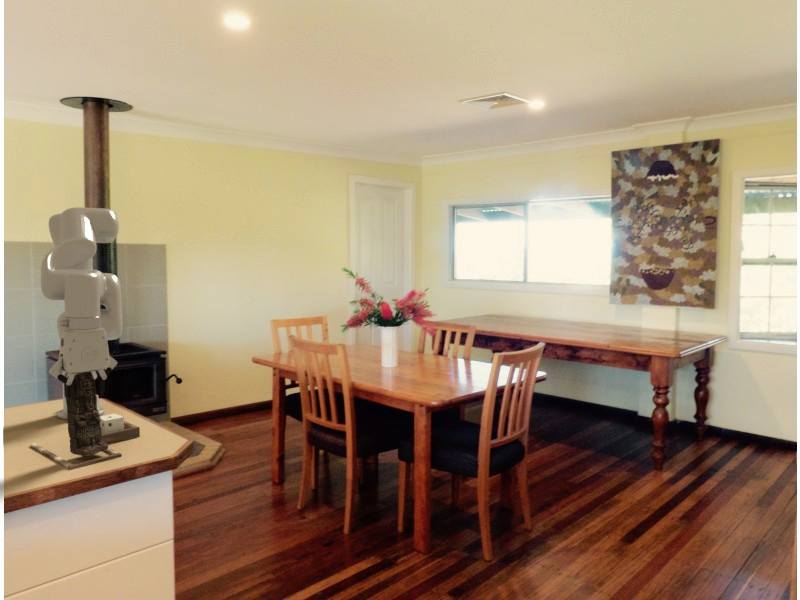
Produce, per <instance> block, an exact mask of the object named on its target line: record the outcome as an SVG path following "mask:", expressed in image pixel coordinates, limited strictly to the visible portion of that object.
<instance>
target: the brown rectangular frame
mask: <svg viewBox="0 0 800 600" xmlns="http://www.w3.org/2000/svg"><path fill="white" fill-rule="evenodd" d="M29 444H30V447H32V448H33V449H35V450H37V451H38V452H40V453H41V454H44V455H45V456H47V457H49V458H50V459H52V460H54V461H55V462H57V463H59V464H60V465H62V466H64V467H65V468H67V469H69V470H73V469H77V468H81V467H85V466H91V465H93V464H97V463H101V462H105V461H109V460H112V459H116V458H120V457H122V456H123V455H122V453H121V452H119V451H116V450H114V449H113V448H110V447H109V446H108V449H106V450H104V452H107V453H108V454H110V455H106V456H101V457H98V458H95V459H91V460H86V461H83V462H78V463H74V464H73V463H72V462H69V461H67V460H66V459H64V458H62V457H60V456H59V455H57V454H56V453H53V452H51V451H50V450H49V449H47V448H45V447H43V446H41V445H39V444H38V443H36V442H31V443H29Z"/></svg>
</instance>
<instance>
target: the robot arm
mask: <svg viewBox="0 0 800 600" xmlns="http://www.w3.org/2000/svg"><path fill="white" fill-rule="evenodd" d="M118 219H119V218H118V216H117V214H116V213H115V211H113V210H112V209H110V208H102V207H79V206H78V207H69V208H67V209H65V210H63V211H62V212H61V213H56V214H53V215H52V216H50V218H49V220H48V230H49V234H50V238H51V240H52V243H53V245H54V247H53V248H52V249H50V251H48V253H47V254H45V256H44V257H43V259H42V262H41V265H40V266H41V267H40V288H41V293H42V295H43V296H44V298H46V299H48V300H50V301H64V312H62V313H61V314H60V315H58V317H57V321H56V326H57V327H56V328H57V332H58V333H57V334H58V337H59V343H60V344H59V353H58V354H59V357H58V358H59V359H58V360H57V361H56V362H55V363H54V364H53V365H52V366H51V367H50V369H48V373H49V374H51V376H53V377H54V378H56V379H57V380H58V381H60V382H61V383H62V405H63V406H62V409H60V410H58V412H57V417H58V419H59V418H60V419H63V420H67V403H66V399H67V400H69V401H71V402H72V401H75V389H74V385H73V384H72V381H73V379H74V376H75V375H76V374H78V373H83V372H91V373H92V375H93V377H94V380H95V384H96V392H97V393H96V396H97V403H96V404H97V410H98V411H99V412H100V413H99V416H102V414H104V413H105V407H104V406H102V405H100V404H99V400H100V399H99V397H104V394H105V391H106V380H107V378H108V376H109V375H110V374H111V373H112V370H113V369H115V367H116V366H117V365H118V361H117V360H116V359H115V358H113V357H112V356H111V355H110V352H109V351H110V350H109V349H110V348H109V344H108V343H109V342H108V341H113V340H117V339H119V338H120V337H121V336H122V333H123V327H124V326H123V305H122V304H123V303H122V289H121V287H122V286H121V282H120V279H119V277H118V276H117V275H115V274H114V273H111V272H110V273H109V272H108V273H107V272H102V271H100V270H98V269H93V267H94V265H93V263H94V262H93V261H94V260H93V257H95V255H96V252H97V251H98V250H97V249H98V248H97V247H98V246H97V244H109V243H110V244H111V243H113V242H114V241H115V240H116V238H117V237H118V234H119V229H120V228H119V226H120V225H119V224H120V223H119V220H118ZM101 305H102V306H104V307H105V308H101ZM59 370H60V371H61V372H60V371H59Z"/></svg>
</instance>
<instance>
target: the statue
mask: <svg viewBox="0 0 800 600" xmlns="http://www.w3.org/2000/svg"><path fill="white" fill-rule="evenodd" d="M72 384H73V385H74V389H75V401H72V402H71V401H69V400H67V399H66V403H67V419H66V421H67V431H68V438H69V450H70V451H69V452H70V453H71V454H73V455H77V456H82V457H89V456H93V455H95V454H99V453H101V452H103V451H104V450H106V449H108V447H109V444H106V443H104V442H103V441H100V440H101V435H102V430H101V426H100V422H101V418H100V416H101V415H99V413H100V412H99V411H98V410H97V404H96V403H97V396H96V393H97V392H96V384H95V380H94V377H93V375H92V373H91V372H83V373H78V374H76V375H75V376H74V379H73V381H72ZM104 452H105V451H104Z"/></svg>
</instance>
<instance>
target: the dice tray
mask: <svg viewBox="0 0 800 600" xmlns="http://www.w3.org/2000/svg"><path fill="white" fill-rule="evenodd" d="M140 431H141V430H140V426H137V425H134V424H133V423H131V422H128V421H125V420H124V430H120V431H116V432H111V433H107V434H102V435H101V440H100V441H103V442H104V443H106V444H108V445H110V444H114V443H117V442H118V443H119V442H122V441H126V440H130V439H135V438H138V437H139V438H140V436H141V434H140Z"/></svg>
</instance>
